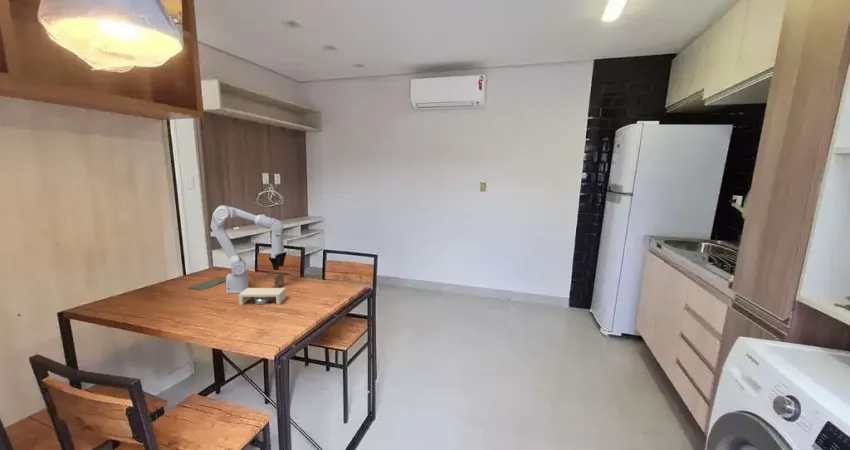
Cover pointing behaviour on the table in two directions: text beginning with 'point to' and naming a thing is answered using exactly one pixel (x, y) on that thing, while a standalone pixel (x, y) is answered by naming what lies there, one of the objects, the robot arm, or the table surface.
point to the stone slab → (207, 284)
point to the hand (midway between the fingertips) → (278, 267)
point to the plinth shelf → (263, 294)
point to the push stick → (278, 281)
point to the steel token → (261, 300)
